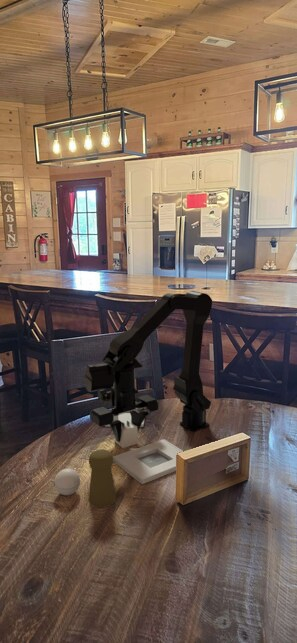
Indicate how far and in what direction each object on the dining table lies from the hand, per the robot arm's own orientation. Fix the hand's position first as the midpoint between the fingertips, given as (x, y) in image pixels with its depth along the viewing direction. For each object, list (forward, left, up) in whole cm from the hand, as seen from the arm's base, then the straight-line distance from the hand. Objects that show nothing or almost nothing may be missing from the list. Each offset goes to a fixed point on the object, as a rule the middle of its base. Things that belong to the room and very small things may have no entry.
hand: (126, 439), depth 122 cm
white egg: (+24, +13, -1) cm, 27 cm away
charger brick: (0, 0, -1) cm, 1 cm away
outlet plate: (0, +13, -1) cm, 13 cm away
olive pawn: (+18, +19, -1) cm, 26 cm away
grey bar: (+6, +6, -1) cm, 9 cm away
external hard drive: (-7, -12, -2) cm, 14 cm away
